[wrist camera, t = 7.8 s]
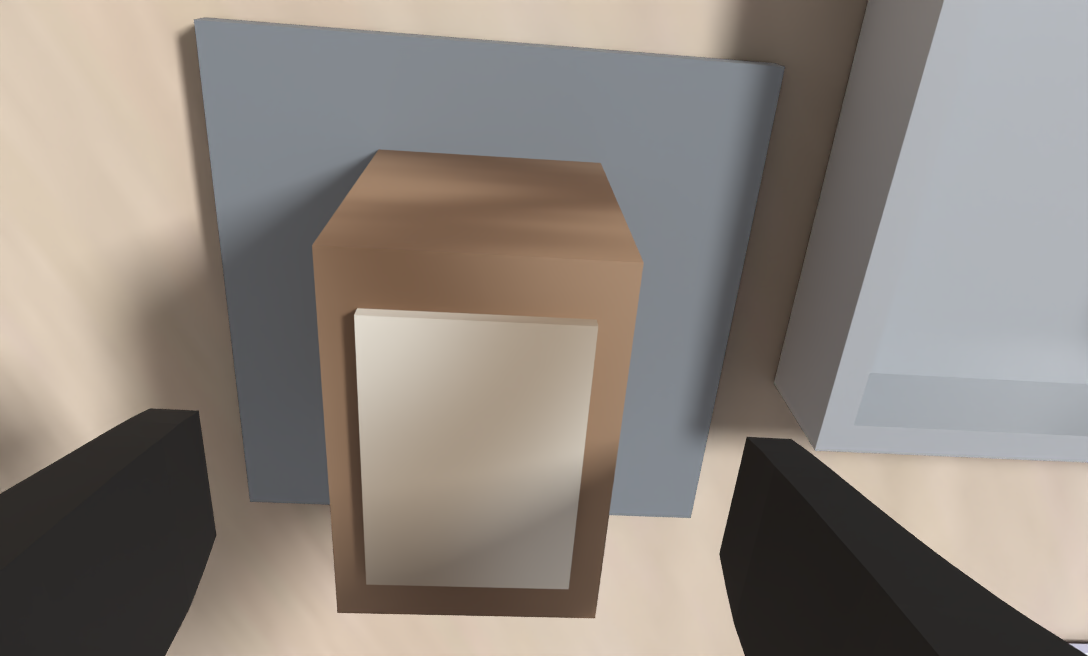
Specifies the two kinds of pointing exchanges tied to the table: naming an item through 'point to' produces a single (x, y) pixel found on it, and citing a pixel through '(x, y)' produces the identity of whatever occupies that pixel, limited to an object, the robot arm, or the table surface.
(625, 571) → the table surface
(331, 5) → the table surface
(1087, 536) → the table surface
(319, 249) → the labelled block
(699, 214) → the slate mat
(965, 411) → the grey bin
